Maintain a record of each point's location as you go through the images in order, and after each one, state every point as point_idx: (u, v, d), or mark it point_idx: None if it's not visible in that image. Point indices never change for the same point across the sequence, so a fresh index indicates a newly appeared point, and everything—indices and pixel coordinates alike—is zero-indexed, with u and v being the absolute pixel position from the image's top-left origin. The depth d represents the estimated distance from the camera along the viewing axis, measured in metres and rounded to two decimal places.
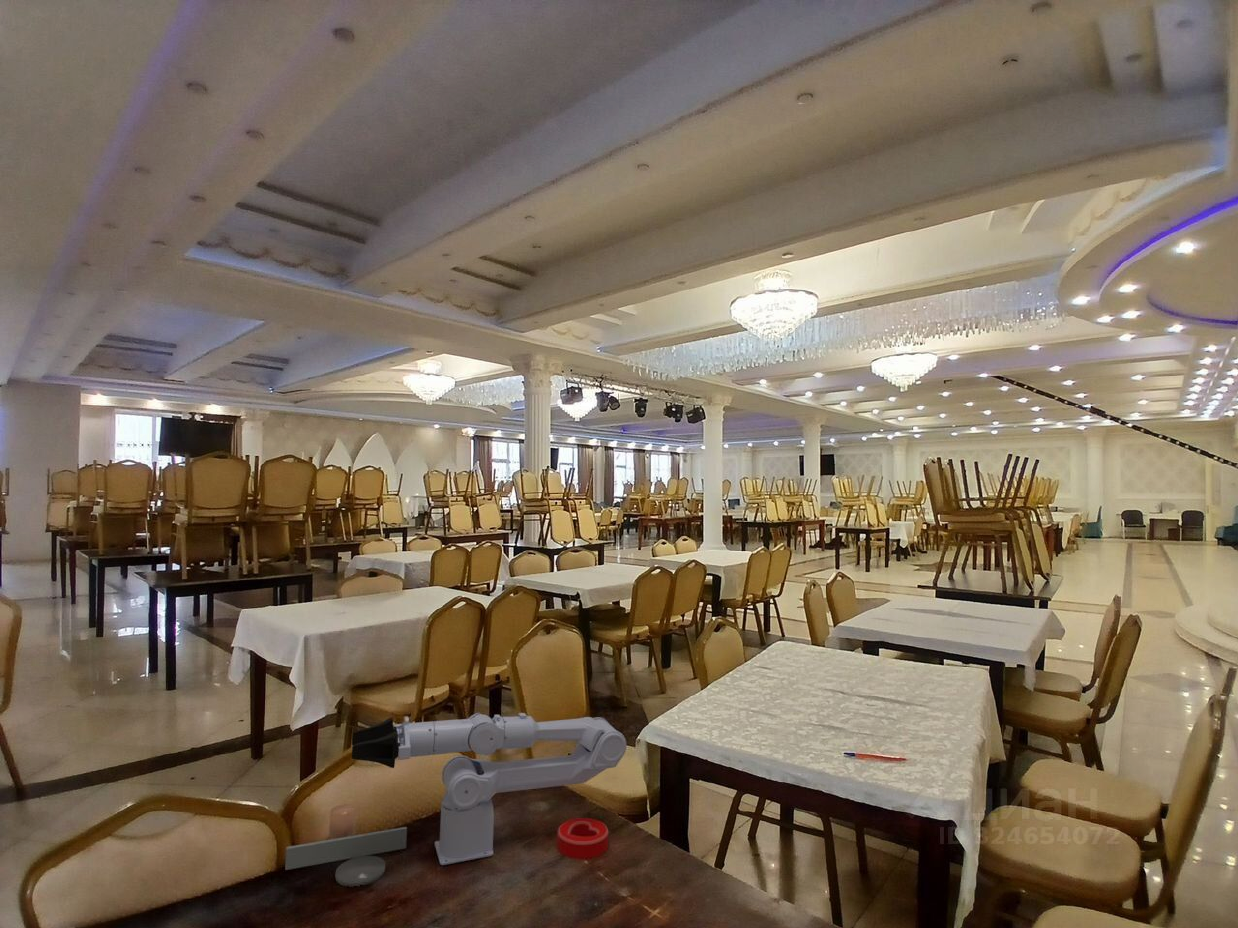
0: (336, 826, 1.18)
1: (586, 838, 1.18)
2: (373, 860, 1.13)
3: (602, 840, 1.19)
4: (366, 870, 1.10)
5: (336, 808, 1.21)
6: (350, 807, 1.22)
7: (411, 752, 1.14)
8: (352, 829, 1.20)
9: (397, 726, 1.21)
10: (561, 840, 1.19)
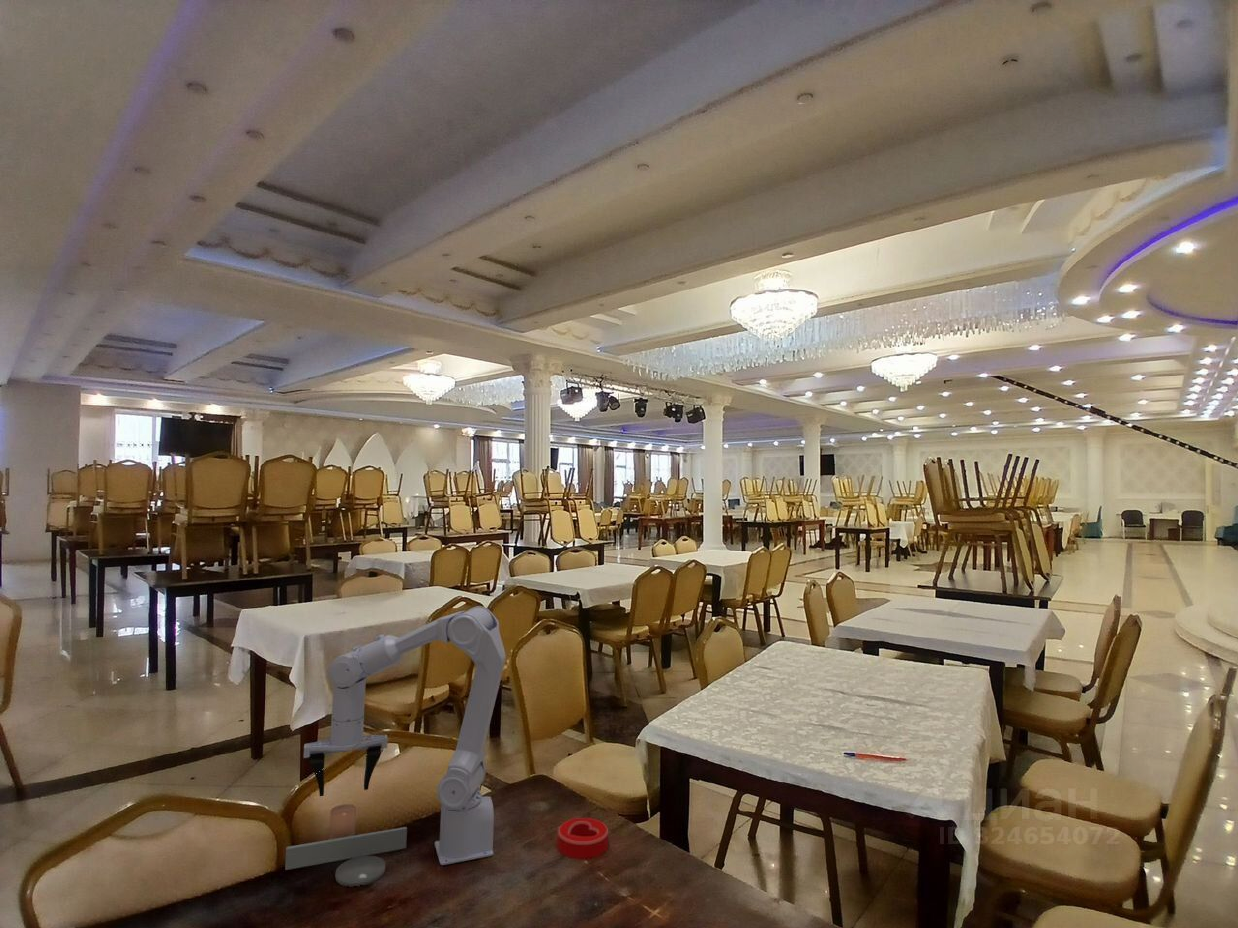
0: (336, 826, 1.18)
1: (586, 838, 1.18)
2: (373, 860, 1.13)
3: (602, 840, 1.19)
4: (366, 870, 1.10)
5: (336, 808, 1.21)
6: (350, 807, 1.22)
7: (332, 741, 1.19)
8: (352, 829, 1.20)
9: None
10: (561, 840, 1.19)
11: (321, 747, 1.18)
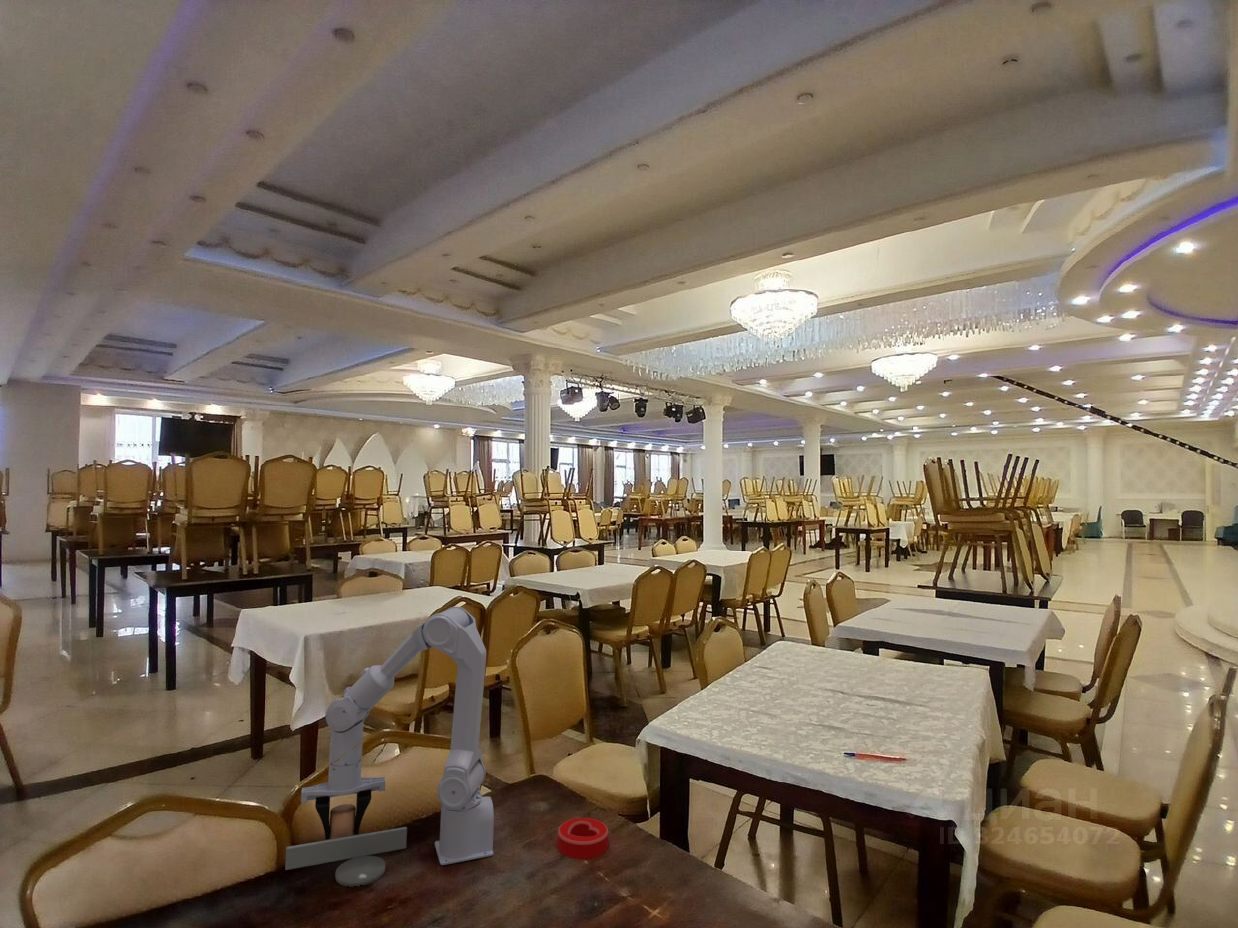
0: (335, 826, 1.18)
1: (586, 838, 1.18)
2: (373, 860, 1.13)
3: (602, 840, 1.19)
4: (366, 870, 1.10)
5: (336, 808, 1.21)
6: (349, 807, 1.22)
7: (330, 785, 1.19)
8: (352, 829, 1.20)
9: None
10: (561, 839, 1.19)
11: (319, 792, 1.18)
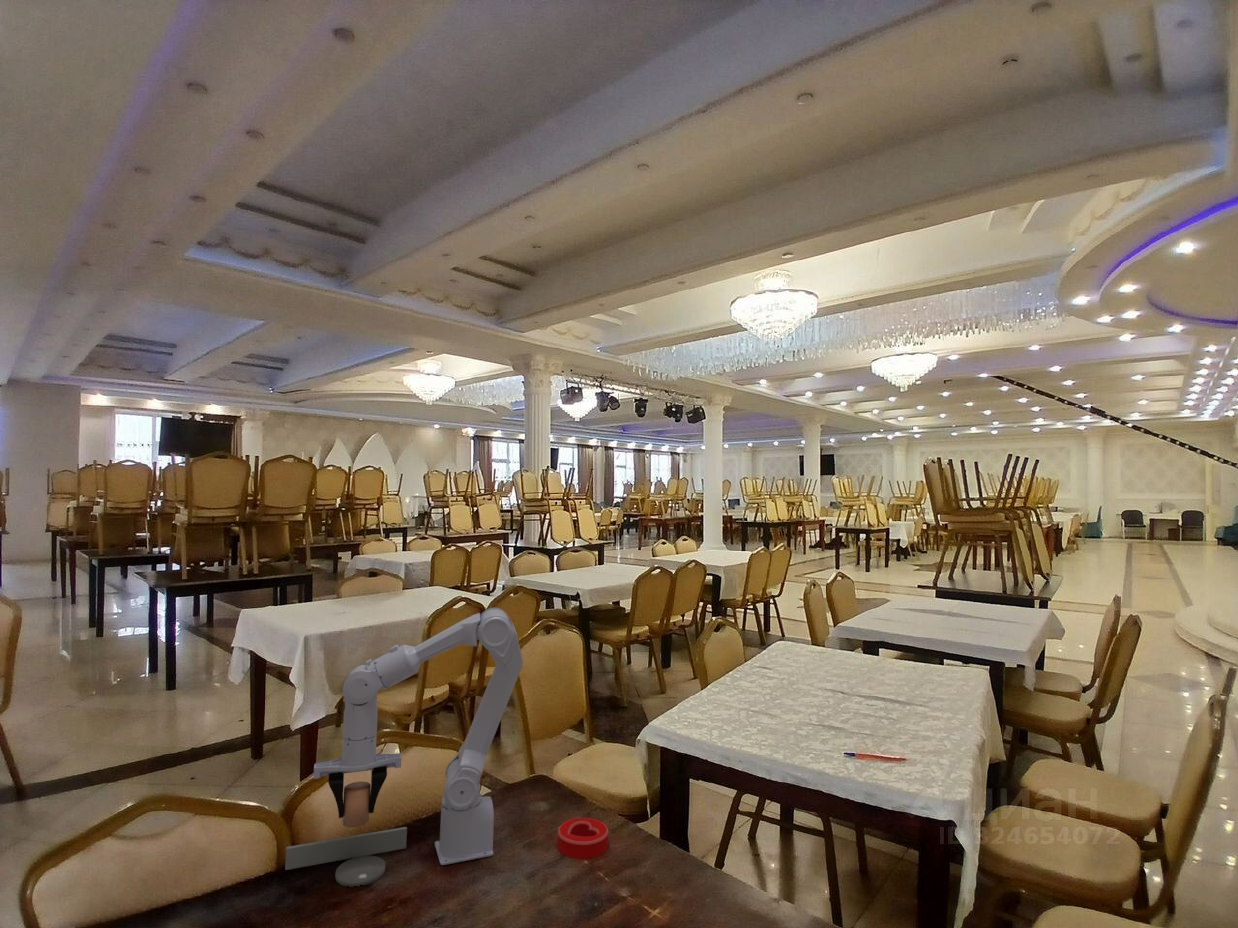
0: (350, 804, 1.13)
1: (586, 838, 1.18)
2: (373, 860, 1.13)
3: (602, 840, 1.19)
4: (366, 870, 1.10)
5: (350, 785, 1.15)
6: (364, 784, 1.16)
7: (344, 761, 1.13)
8: (367, 807, 1.14)
9: None
10: (561, 839, 1.19)
11: (332, 767, 1.12)
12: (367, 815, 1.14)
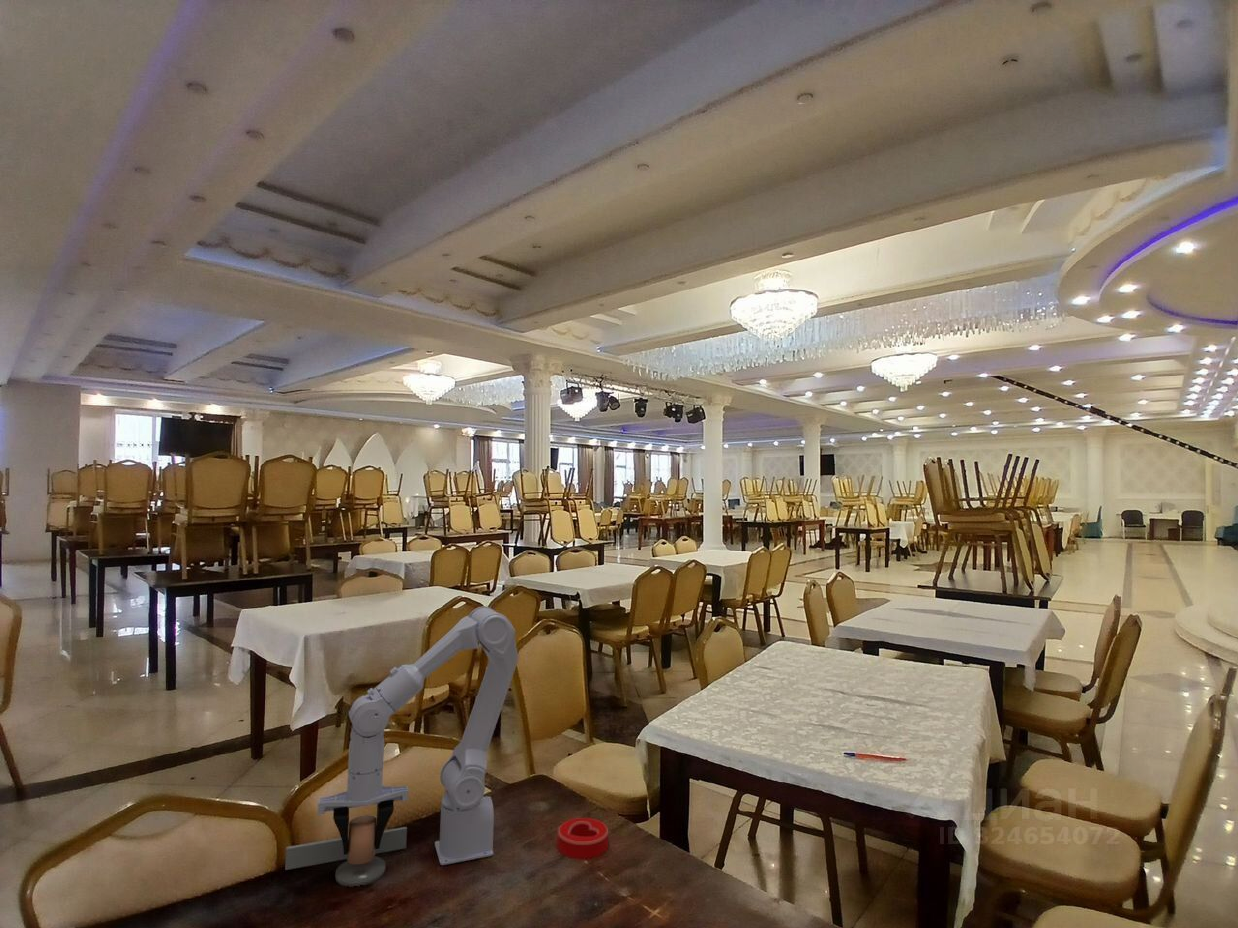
0: (355, 840, 1.09)
1: (586, 838, 1.18)
2: (373, 860, 1.13)
3: (602, 840, 1.19)
4: (366, 870, 1.10)
5: (355, 820, 1.11)
6: (370, 819, 1.12)
7: (349, 795, 1.09)
8: (373, 843, 1.10)
9: None
10: (561, 840, 1.19)
11: (337, 802, 1.08)
12: (373, 851, 1.10)
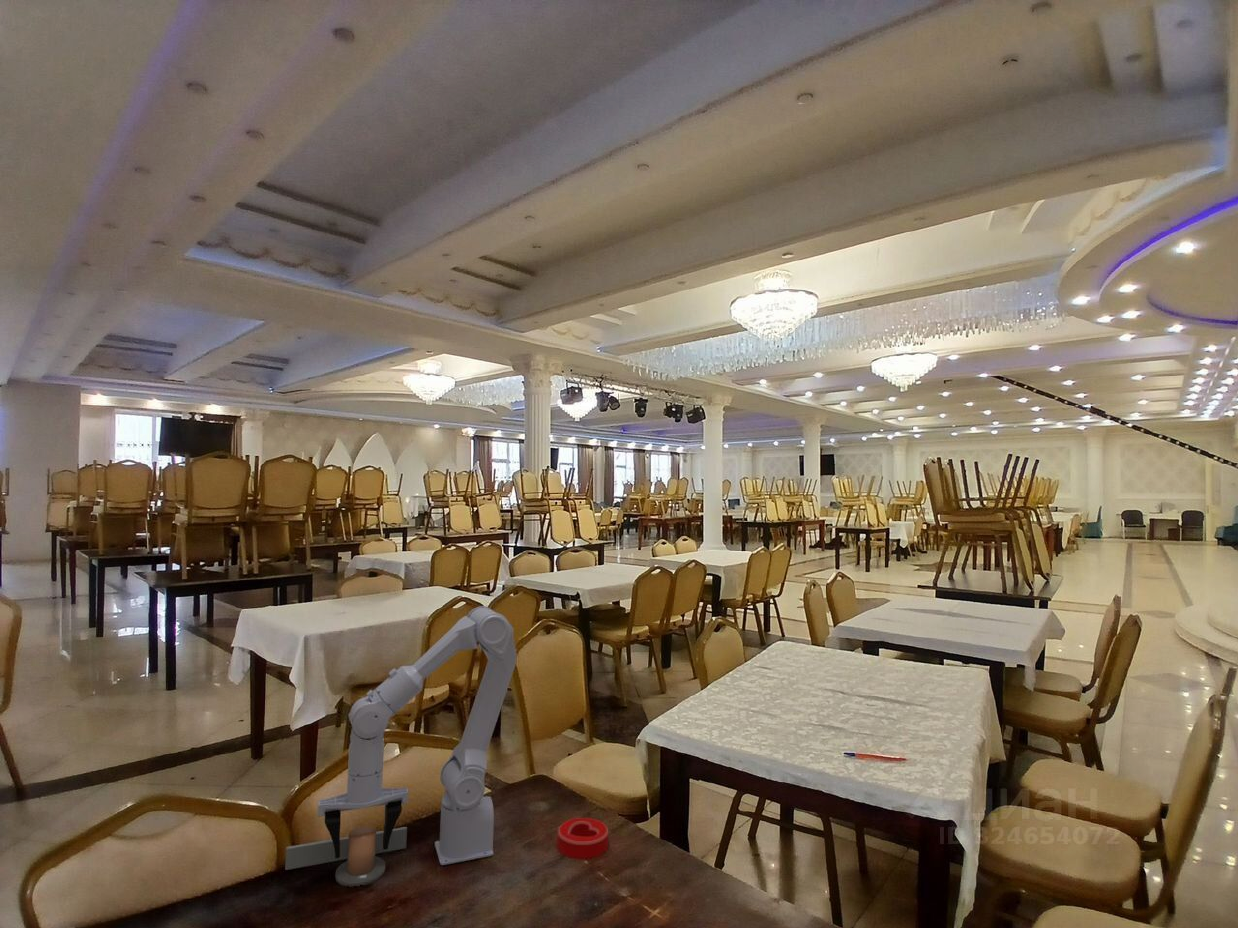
0: (355, 851, 1.09)
1: (586, 838, 1.18)
2: None
3: (602, 840, 1.19)
4: None
5: (355, 830, 1.11)
6: (369, 829, 1.12)
7: (349, 797, 1.09)
8: (372, 853, 1.10)
9: None
10: (561, 840, 1.19)
11: (337, 804, 1.08)
12: (373, 862, 1.10)
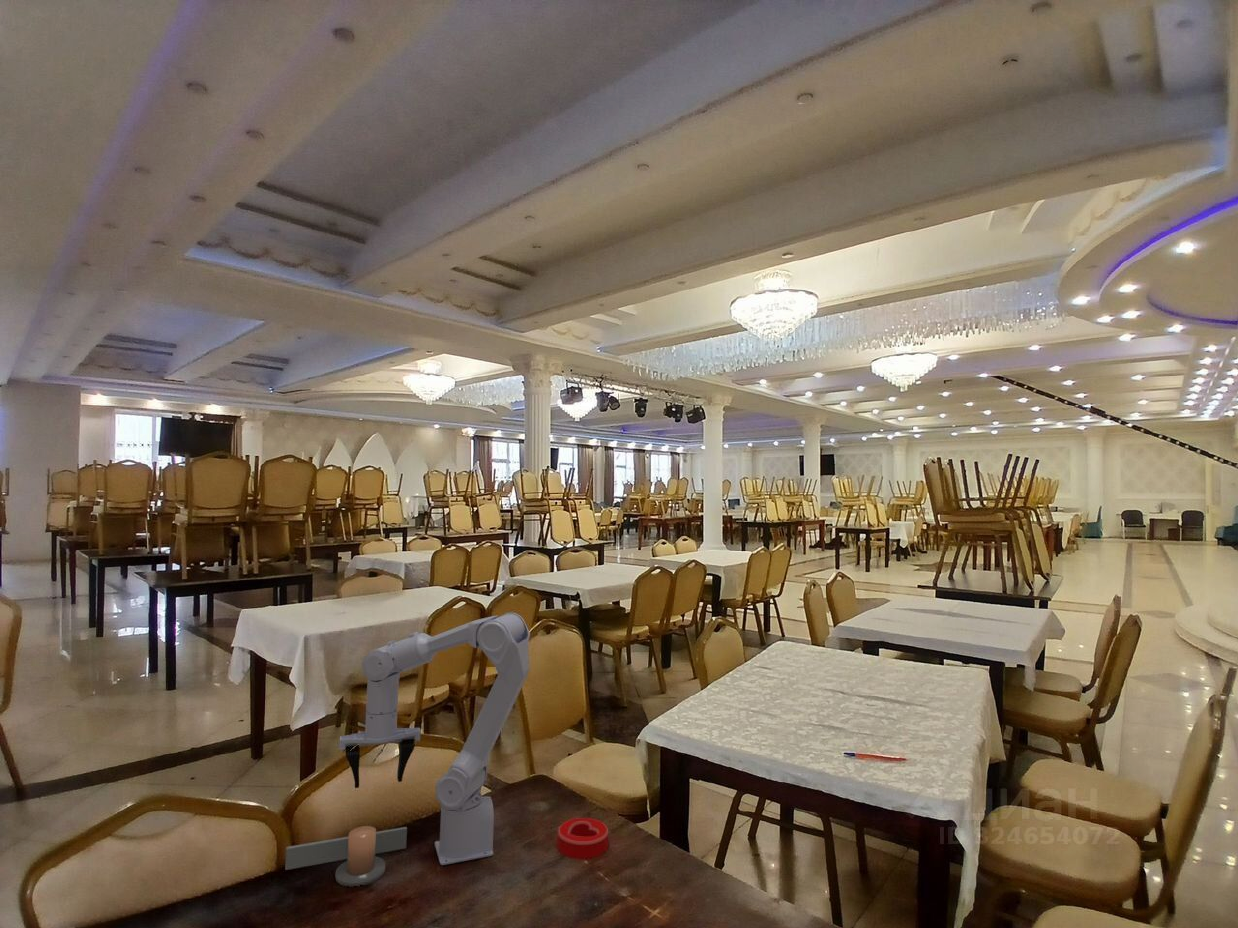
0: (355, 851, 1.09)
1: (586, 838, 1.18)
2: None
3: (602, 840, 1.19)
4: None
5: (355, 830, 1.11)
6: (369, 829, 1.12)
7: (367, 733, 1.21)
8: (372, 853, 1.10)
9: None
10: (561, 839, 1.19)
11: (356, 739, 1.20)
12: (373, 862, 1.10)
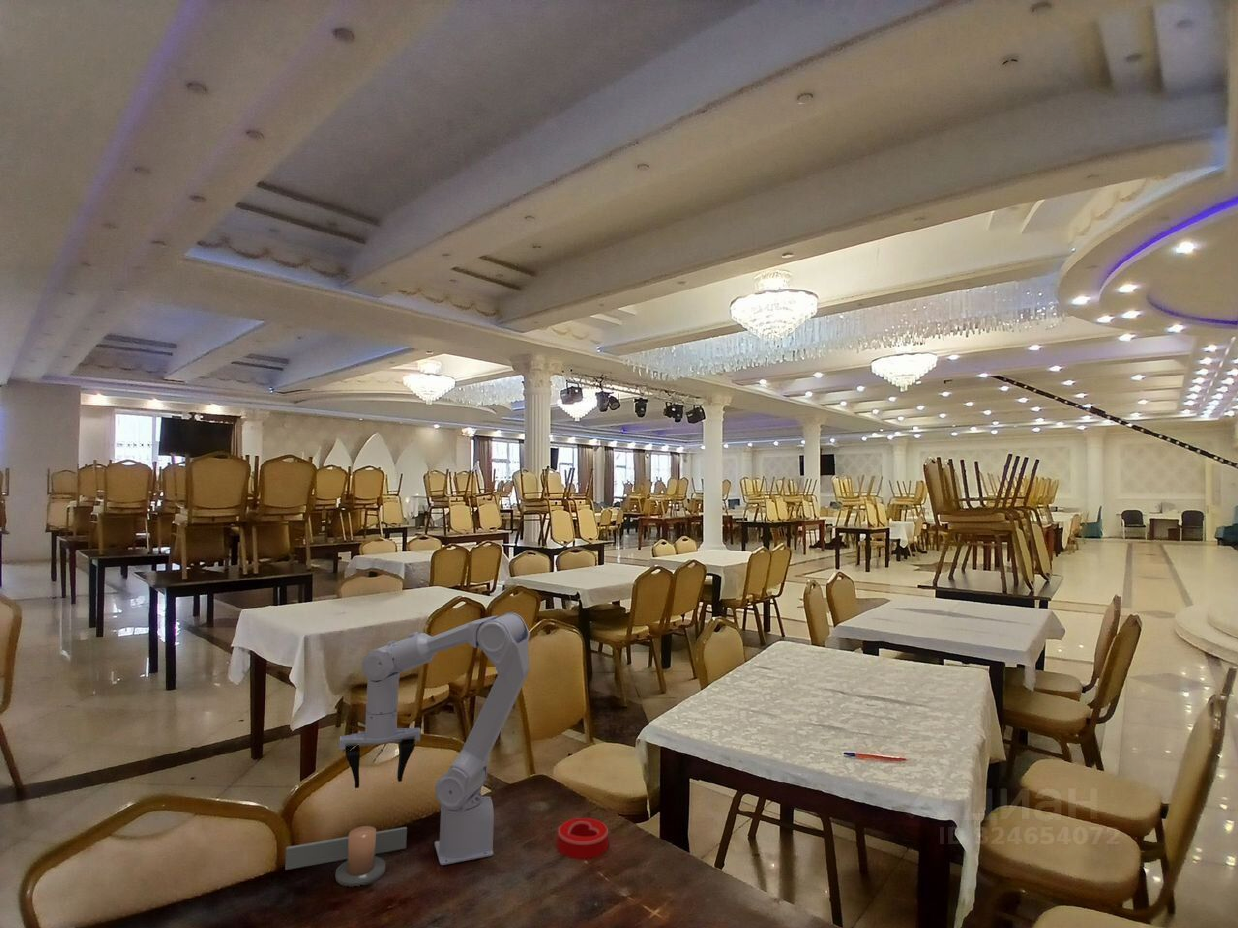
0: (355, 851, 1.09)
1: (586, 838, 1.18)
2: None
3: (602, 840, 1.19)
4: None
5: (355, 831, 1.11)
6: (369, 829, 1.12)
7: (367, 733, 1.21)
8: (372, 854, 1.10)
9: None
10: (561, 839, 1.19)
11: (356, 739, 1.20)
12: (373, 862, 1.10)
